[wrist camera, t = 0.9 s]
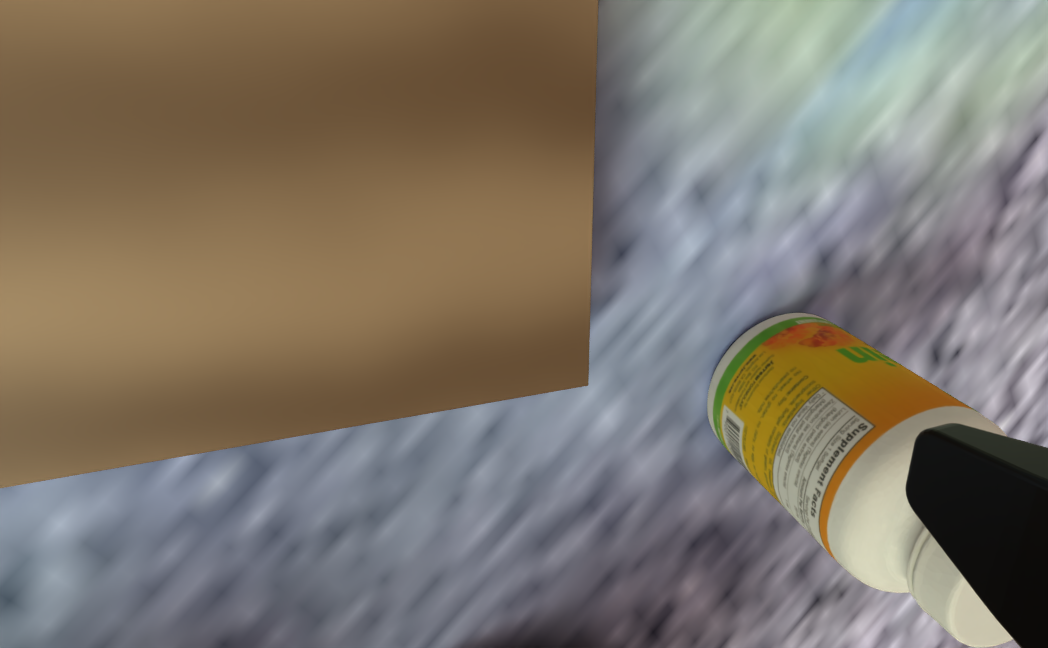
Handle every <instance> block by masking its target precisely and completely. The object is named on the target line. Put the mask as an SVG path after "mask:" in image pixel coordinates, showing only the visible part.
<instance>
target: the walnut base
mask: <svg viewBox="0 0 1048 648" xmlns="http://www.w3.org/2000/svg"><path fill="white" fill-rule="evenodd" d="M597 29H598V0H0V488H4V487H10V486H16V485H21V484H27V483H33V482H39V481H44V480H50V479H56V478H61V477H67V476H73V475H79V474H84V473H90V472H96V471H102V470H107V469H113V468H119V467H124V466H130V465H136V464H142V463H147V462H153V461H159V460H164V459H170V458H176V457H182V456H187V455H193V454H199V453H205V452H210V451H216V450H222V449H227V448H233V447H239V446H245V445H250V444H256V443H262V442H267V441H273V440H279V439H285V438H290V437H296V436H302V435H308V434H313V433H319V432H325V431H330V430H336V429H342V428H348V427H353V426H359V425H365V424H370V423H376V422H382V421H388V420H393V419H399V418H405V417H411V416H416V415H422V414H428V413H433V412H439V411H445V410H451V409H456V408H462V407H468V406H473V405H479V404H485V403H491V402H496V401H502V400H508V399H514V398H519V397H525V396H531V395H536V394H542V393H548V392H554V391H559V390H565V389H571V388H576V387H582V386H588V375H589V337H590V298H591V260H592V221H593V183H594V144H595V106H596V67H597Z"/></svg>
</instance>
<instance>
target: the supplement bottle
mask: <svg viewBox="0 0 1048 648" xmlns="http://www.w3.org/2000/svg"><path fill="white" fill-rule="evenodd" d="M707 413H708V419H709V422H710V425H711V427H712V430H713V432H714V433H715V435H716V437H717V438H718V440H719V441H720V442H721V443H722V444H723V445H724V447H725V448H726V449H727V450H728V451H729V452H730V453H731V454H732V455H733V456H734V458H735V459H736V460H737V461H738V462H739V463H740V464H741V465H742V466H743V467H744V468H745V469H746V470H747V471H748V472H749V473H750V474H751V475H752V476H753V477H754V478H755V479H756V480H757V481H758V482H759V483H760V484H761V485H762V486H763V487H764V488H765V489H766V490H767V491H768V492H769V493H770V494H771V495H772V496H773V497H774V498H775V499H776V500H777V501H778V502H779V503H780V504H781V505H782V506H783V507H784V508H785V509H786V510H787V511H788V512H789V513H790V514H791V515H792V516H793V517H794V518H795V519H796V520H797V521H798V522H799V523H800V524H801V525H802V526H803V527H804V528H805V529H806V530H807V531H808V532H809V533H810V534H811V536H812V537H813V538H814V539H815V540H816V541H817V542H818V543H819V544H820V545H821V546H822V547H823V548H824V549H825V550H826V551H827V552H828V553H829V554H830V555H831V556H832V557H833V558H834V559H835V560H836V561H837V562H838V563H839V564H840V565H841V566H842V567H843V568H844V569H846V570H847V571H848V572H849V573H850V574H851V575H852V576H854V577H855V578H857V579H858V580H859V581H861V582H862V583H864V584H866V585H868V586H870V587H872V588H875V589H879V590H882V591H886V592H895V593H907V592H910V593H911V594H912V596H913V597H914V598H915V599H916V601H917V603H918V604H919V606H920V607H921V608H922V609H923V610H924V611H925V612H926V613H927V614H928V615H930V616H931V617H932V618H933V619H934V620H935V621H937V622H938V623H939V624H940V625H941V626H942V627H943V628H944V629H945V630H946V631H947V632H949V633H950V634H951V635H952V636H953V637H954V638H955V639H957V640H958V641H960V642H961V643H963V644H965V645H968V646H972V647H978V648H979V647H991V646H995V645H999V644H1002V643H1005V642H1008V641H1010V640H1013V638H1012V637H1011V636H1010V635H1009V634H1008V632H1007V631H1006V630H1005V629H1004V628H1003V627H1002V625H1001V624H1000V623H999V622H998V621H997V620H996V618H995V617H994V616H993V615H992V613H991V612H990V611H989V610H988V608H987V607H986V606H985V605H984V603H983V602H982V601H981V599H980V598H979V597H978V595H977V594H976V593H975V592H974V590H973V589H972V588H971V586H970V585H969V584H968V582H967V581H966V580H965V578H964V577H963V576H962V574H961V573H960V572H959V570H958V569H957V568H956V567H955V565H954V564H953V563H952V561H951V560H950V559H949V557H948V556H947V555H946V553H945V552H944V551H943V549H942V548H941V547H940V545H939V544H938V543H937V542H936V540H935V539H934V538H933V536H932V535H931V534H930V532H929V531H928V530H927V528H926V527H925V526H924V524H923V523H922V522H921V520H920V519H919V518H918V517H917V515H916V514H915V513H914V511H913V510H912V508H911V507H910V504H909V502H908V500H907V496H906V490H905V487H906V481H907V476H908V471H909V466H910V461H911V457H912V452H913V447H914V442H915V439H916V437H917V436H918V434H919V433H920V432H921V431H923V430H925V429H928V428H931V427H935V426H939V425H943V424H947V423H958V424H963V425H966V426H970V427H974V428H977V429H981V430H985V431H988V432H992V433H995V434H999V435H1003V436H1006V437H1007V435H1006V434H1005V433H1004V432H1003V431H1002V430H1001V429H1000V428H999V427H998V426H997V425H996V424H994V423H993V422H992V421H990V420H989V419H987V418H986V417H984V416H983V415H981V414H980V413H979V412H977V411H976V410H974V409H972V408H971V407H969V406H967V405H966V404H964V403H962V402H961V401H959V400H957V399H956V398H954V397H952V396H951V395H949V394H948V393H946V392H944V391H943V390H941V389H939V388H938V387H936V386H935V385H933V384H931V383H930V382H928V381H926V380H925V379H923V378H922V377H920V376H918V375H917V374H915V373H913V372H912V371H910V370H908V369H907V368H905V367H904V366H902V365H901V364H899V363H897V362H896V361H894V360H892V359H890V358H889V357H887V356H885V355H884V354H882V353H881V352H879V351H877V350H876V349H874V348H872V347H871V346H869V345H868V344H866V343H864V342H863V341H861V340H859V339H858V338H856V337H855V336H853V335H851V334H850V333H848V332H847V331H845V330H843V329H842V328H840V327H838V326H837V325H835V324H833V323H831V322H830V321H828V320H826V319H824V318H821V317H819V316H816V315H813V314H807V313H789V314H783V315H779V316H775V317H772V318H770V319H767V320H765V321H763V322H761V323H759V324H757V325H756V326H754V327H752V328H751V329H749V330H748V331H747V332H745V333H744V334H743V335H742V336H740V337H739V338H738V339H737V340H736V341H735V342H734V343H733V345H732V346H731V347H730V348H729V349H728V351H727V352H726V353H725V354H724V356H723V357H722V359H721V361H720V362H719V364H718V366H717V368H716V370H715V372H714V374H713V377H712V380H711V383H710V386H709V391H708V399H707Z"/></svg>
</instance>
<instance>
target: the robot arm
mask: <svg viewBox="0 0 1048 648" xmlns="http://www.w3.org/2000/svg"><path fill="white" fill-rule="evenodd" d="M905 490H906V496H907V500H908V502H909V504H910V507H911V508H912V510H913V511H914V513H915V514H916V515H917V517H918V518H919V519H920V520H921V522H922V523H923V524H924V526H925V527H926V528H927V530H928V531H929V532H930V534H931V535H932V536H933V538H934V539H935V540H936V542H937V543H938V544H939V545H940V547H941V548H942V549H943V551H944V552H945V553H946V555H947V556H948V557H949V559H950V560H951V561H952V563H953V564H954V565H955V567H956V568H957V569H958V570H959V572H960V573H961V574H962V576H963V577H964V578H965V580H966V581H967V582H968V584H969V585H970V586H971V588H972V589H973V590H974V592H975V593H976V594H977V595H978V597H979V598H980V599H981V601H982V602H983V603H984V605H985V606H986V607H987V608H988V610H989V611H990V612H991V613H992V615H993V616H994V617H995V618H996V620H997V621H998V622H999V623H1000V624H1001V625H1002V627H1003V628H1004V629H1005V630H1006V631H1007V632H1008V634H1009V635H1010V636H1011V637H1012V638H1013V639H1014V640H1015V642H1016V643H1017V644H1018V645H1019V646H1020V647H1021V648H1048V448H1046V447H1043V446H1039V445H1035V444H1032V443H1028V442H1025V441H1021V440H1017V439H1014V438H1010V437H1006V436H1003V435H999V434H995V433H992V432H988V431H985V430H981V429H977V428H974V427H970V426H966V425H963V424H958V423H947V424H943V425H939V426H935V427H931V428H928V429H925V430H923V431H921V432H920V433H919V434H918V436H917V437H916V439H915V442H914V447H913V452H912V457H911V461H910V466H909V471H908V476H907V481H906V487H905Z"/></svg>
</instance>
